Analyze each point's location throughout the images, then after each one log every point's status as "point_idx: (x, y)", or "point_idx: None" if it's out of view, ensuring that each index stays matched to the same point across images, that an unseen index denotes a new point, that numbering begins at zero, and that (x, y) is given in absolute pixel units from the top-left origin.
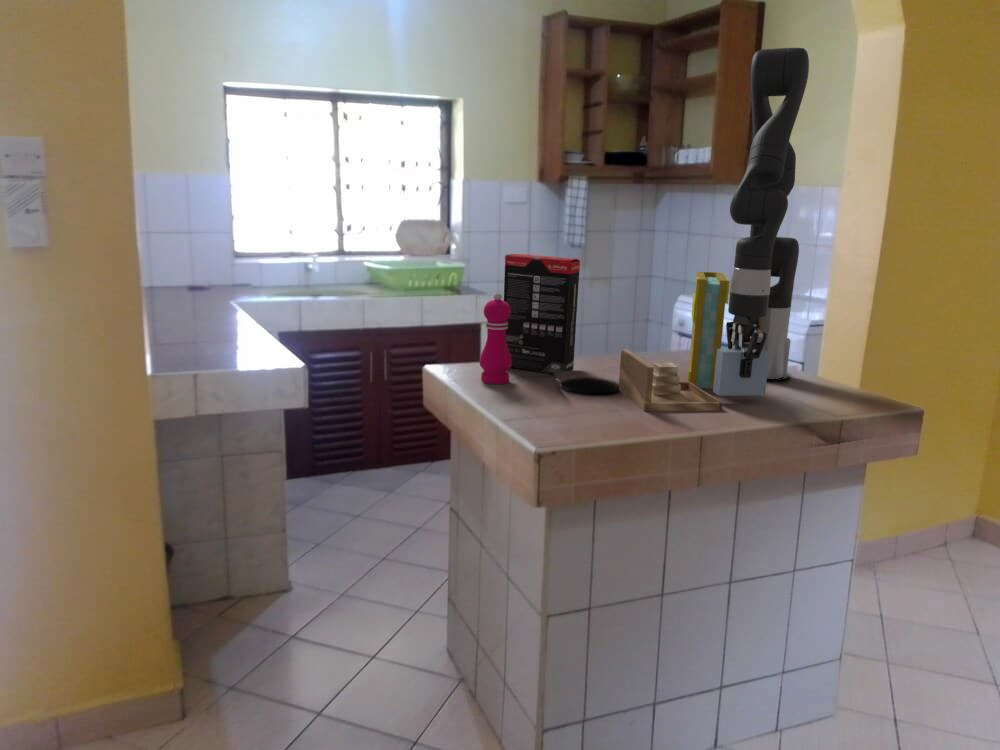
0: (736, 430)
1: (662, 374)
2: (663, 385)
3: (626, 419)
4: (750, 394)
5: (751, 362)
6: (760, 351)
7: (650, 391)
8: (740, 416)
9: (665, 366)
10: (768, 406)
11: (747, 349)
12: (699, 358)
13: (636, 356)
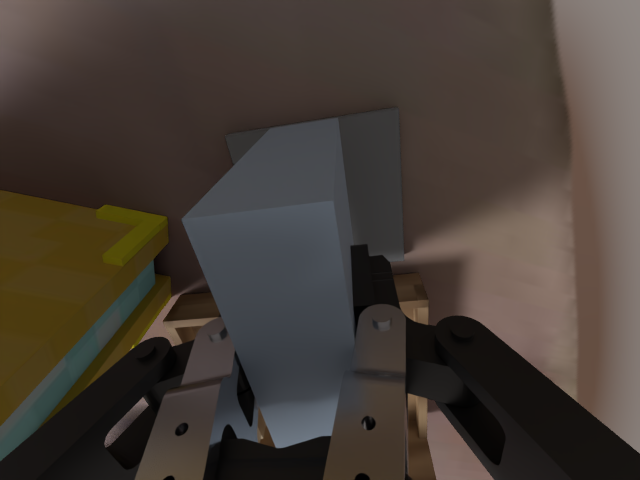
0: (566, 272)
1: (257, 435)
2: None
3: (433, 437)
4: (346, 188)
5: (399, 307)
6: (535, 373)
7: (434, 474)
8: (425, 219)
9: None
10: (281, 63)
11: (471, 442)
12: (85, 367)
13: None
